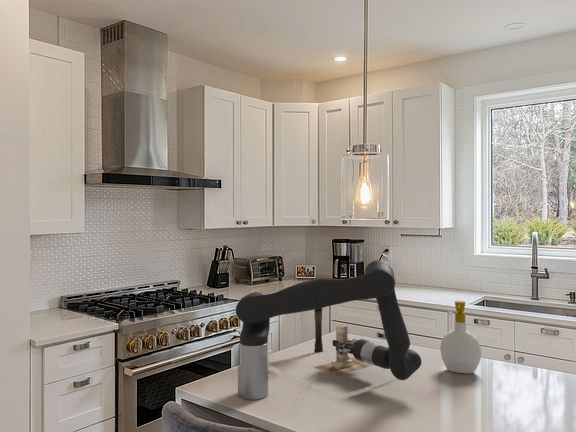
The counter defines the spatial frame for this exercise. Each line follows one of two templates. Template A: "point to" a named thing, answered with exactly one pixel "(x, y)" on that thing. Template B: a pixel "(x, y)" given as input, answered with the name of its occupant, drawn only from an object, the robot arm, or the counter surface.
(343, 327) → the tan upright block
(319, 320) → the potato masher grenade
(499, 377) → the counter surface
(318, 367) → the board
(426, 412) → the counter surface
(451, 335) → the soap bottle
